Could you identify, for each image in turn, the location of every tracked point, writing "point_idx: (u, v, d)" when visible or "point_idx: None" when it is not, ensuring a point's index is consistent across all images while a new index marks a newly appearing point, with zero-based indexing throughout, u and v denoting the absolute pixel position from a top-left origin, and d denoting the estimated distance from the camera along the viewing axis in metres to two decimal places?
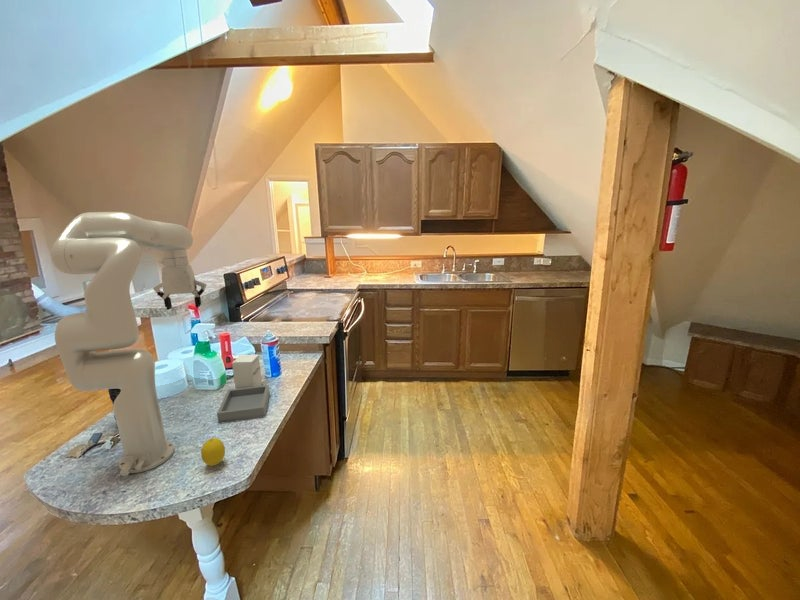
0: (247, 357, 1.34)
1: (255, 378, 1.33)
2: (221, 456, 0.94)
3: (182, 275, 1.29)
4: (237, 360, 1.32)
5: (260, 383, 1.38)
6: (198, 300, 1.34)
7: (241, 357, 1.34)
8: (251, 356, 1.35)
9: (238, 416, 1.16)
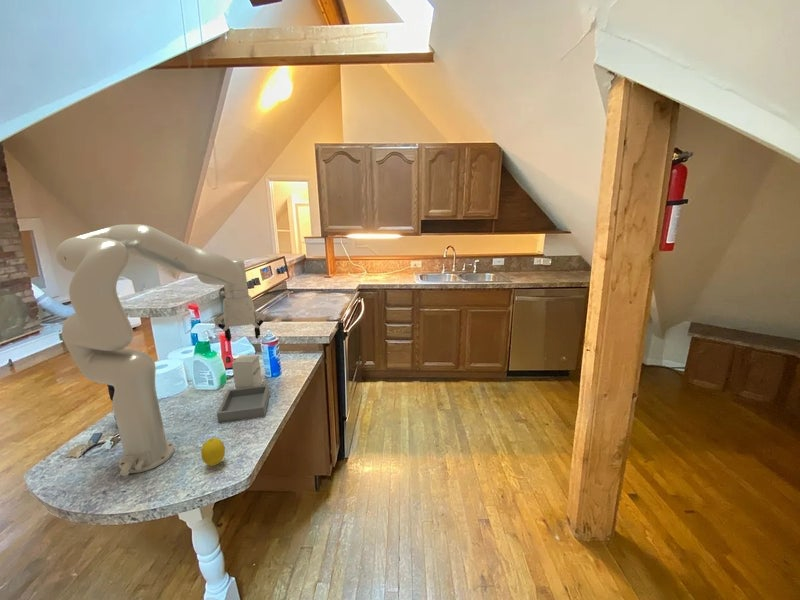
0: (247, 357, 1.34)
1: (255, 378, 1.33)
2: (221, 456, 0.94)
3: (244, 307, 1.27)
4: (237, 360, 1.32)
5: (260, 383, 1.38)
6: (258, 331, 1.32)
7: (241, 357, 1.34)
8: (251, 356, 1.35)
9: (238, 416, 1.16)
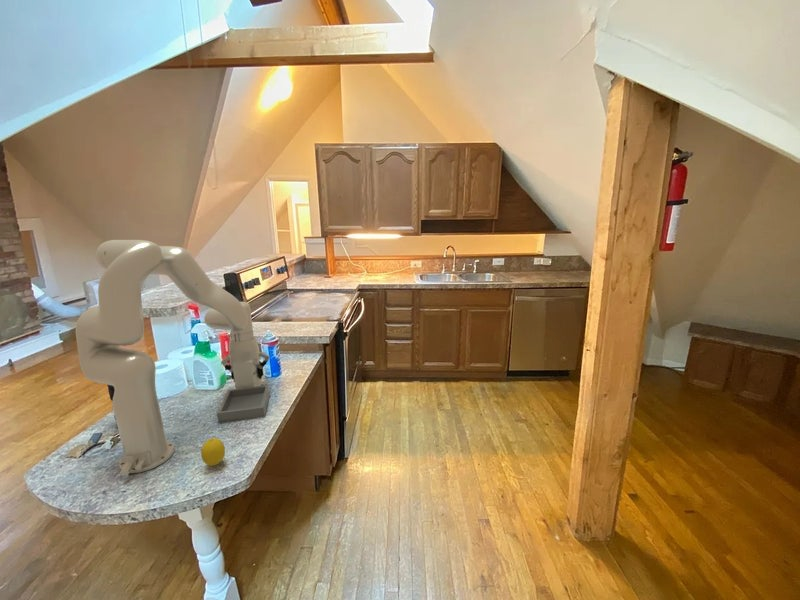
0: None
1: (255, 378, 1.33)
2: (221, 456, 0.94)
3: (249, 349, 1.30)
4: None
5: (260, 383, 1.38)
6: (261, 371, 1.36)
7: None
8: None
9: (238, 416, 1.16)
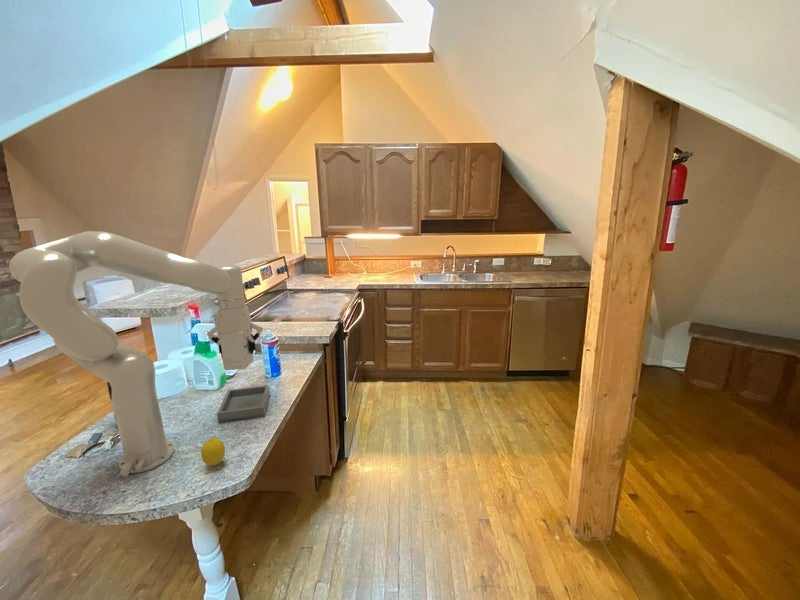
0: None
1: (246, 352, 1.18)
2: (221, 456, 0.94)
3: (239, 318, 1.15)
4: None
5: (251, 359, 1.22)
6: (253, 345, 1.20)
7: None
8: None
9: (238, 416, 1.16)
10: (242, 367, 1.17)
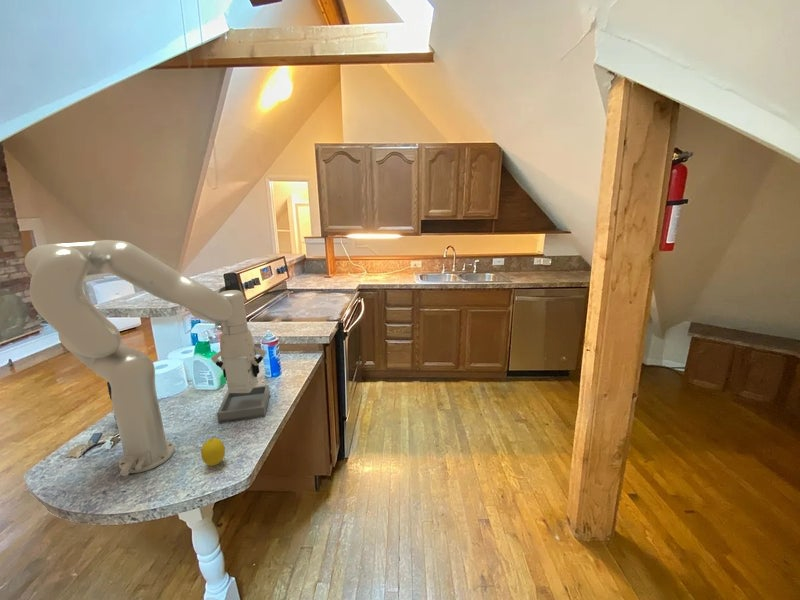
0: None
1: (250, 376, 1.19)
2: (221, 456, 0.94)
3: (242, 343, 1.16)
4: None
5: (255, 381, 1.23)
6: (257, 369, 1.21)
7: None
8: None
9: (238, 416, 1.16)
10: (247, 391, 1.18)
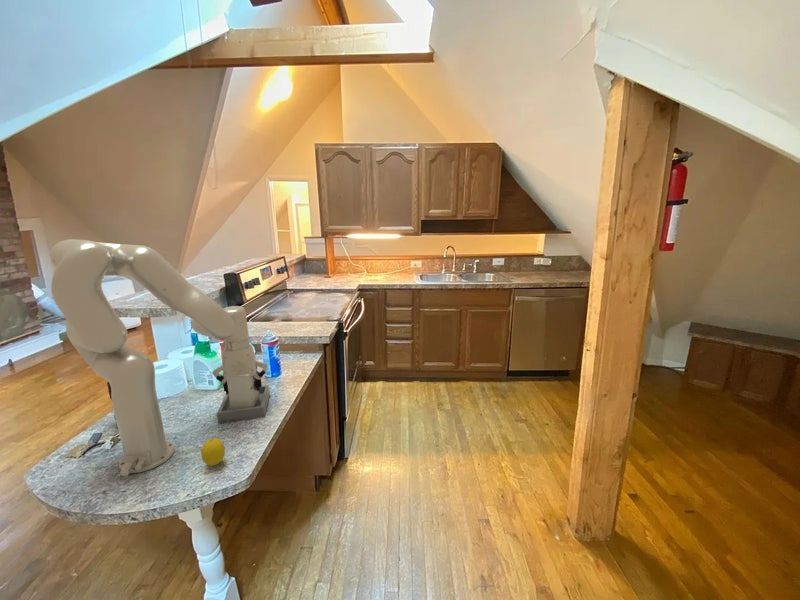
0: None
1: (252, 393, 1.20)
2: (221, 456, 0.94)
3: (244, 358, 1.17)
4: None
5: (257, 398, 1.25)
6: (259, 382, 1.22)
7: None
8: None
9: (238, 416, 1.16)
10: None
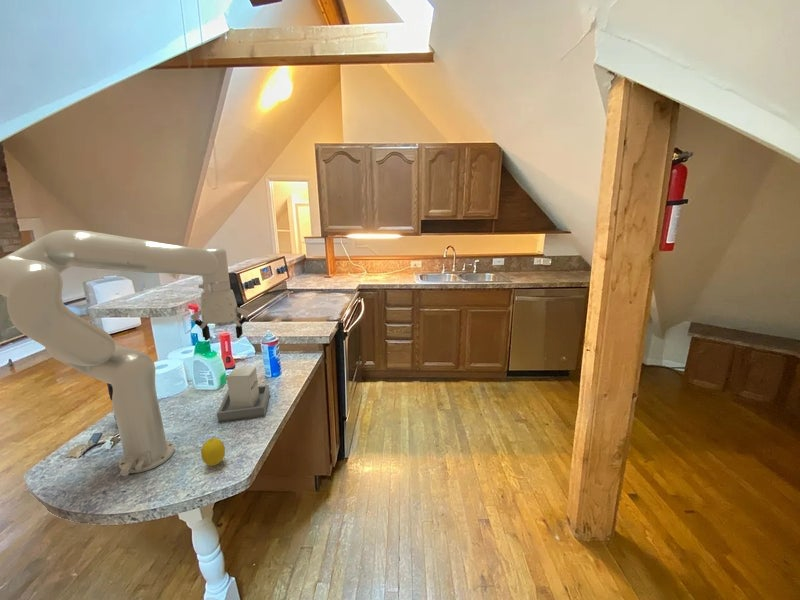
0: (244, 370, 1.21)
1: (252, 393, 1.20)
2: (221, 456, 0.94)
3: (224, 302, 1.13)
4: (232, 374, 1.18)
5: (257, 398, 1.25)
6: (240, 330, 1.18)
7: (236, 370, 1.21)
8: (248, 368, 1.22)
9: (238, 416, 1.16)
10: None
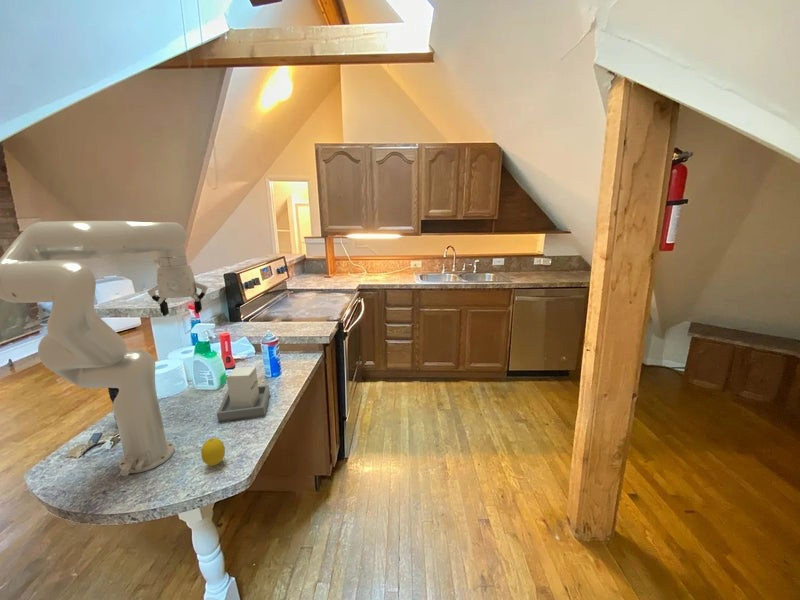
0: (244, 370, 1.21)
1: (252, 393, 1.20)
2: (221, 456, 0.94)
3: (180, 277, 1.13)
4: (232, 374, 1.18)
5: (257, 398, 1.25)
6: (198, 305, 1.18)
7: (236, 370, 1.21)
8: (248, 369, 1.22)
9: (238, 416, 1.16)
10: None
